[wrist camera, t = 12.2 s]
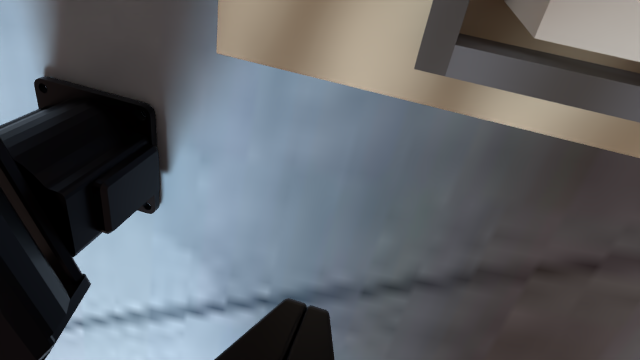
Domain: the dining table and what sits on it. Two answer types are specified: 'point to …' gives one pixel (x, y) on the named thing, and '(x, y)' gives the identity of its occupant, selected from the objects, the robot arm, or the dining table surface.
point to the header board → (445, 62)
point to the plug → (584, 24)
